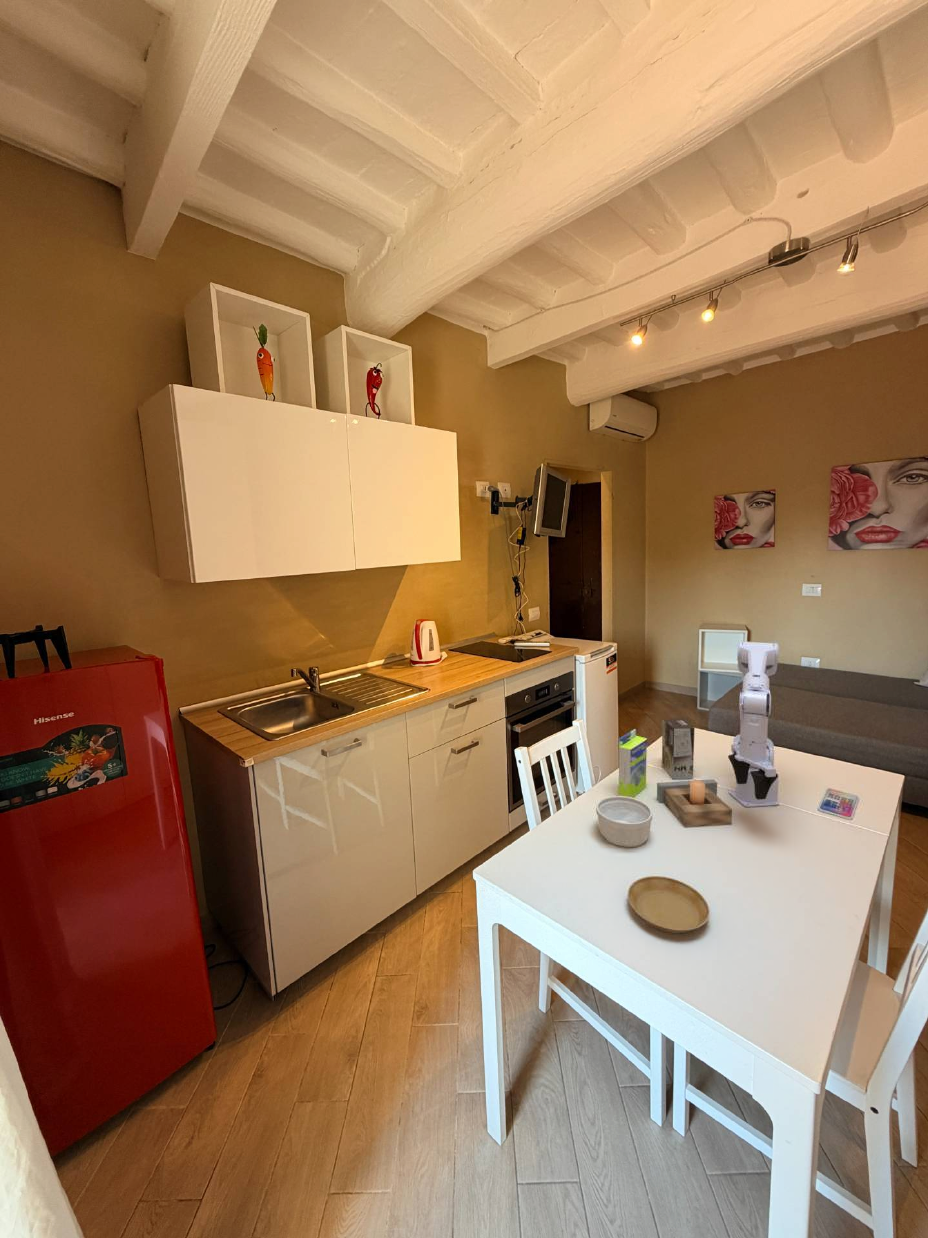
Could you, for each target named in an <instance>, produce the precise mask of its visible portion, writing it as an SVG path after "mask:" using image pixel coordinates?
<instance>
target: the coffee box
mask: <svg viewBox="0 0 928 1238" xmlns="http://www.w3.org/2000/svg"><path fill="white" fill-rule="evenodd" d="M661 721H662V727H661V728H662V731H661V732H662V733H661V734H662V735H661V737H662V738H661V740H662V741H661V744H662V745H661V746H662V747H661V748H662V750H661V752H662V753H661V767H662V768H663V769H664V771H665V772H666V773H667V774H668V775H669V777H671V779H673V780H688V779H689V780H694V761H695V760H694V757H695V756H694V754H695V752H694V751H695V729H696V728H695V727H694V726H693V725H692V724H690V723H689V722H687V720H685V719H684V718H682V717H676V718H674V717H673V718H663V719H661Z"/></svg>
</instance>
